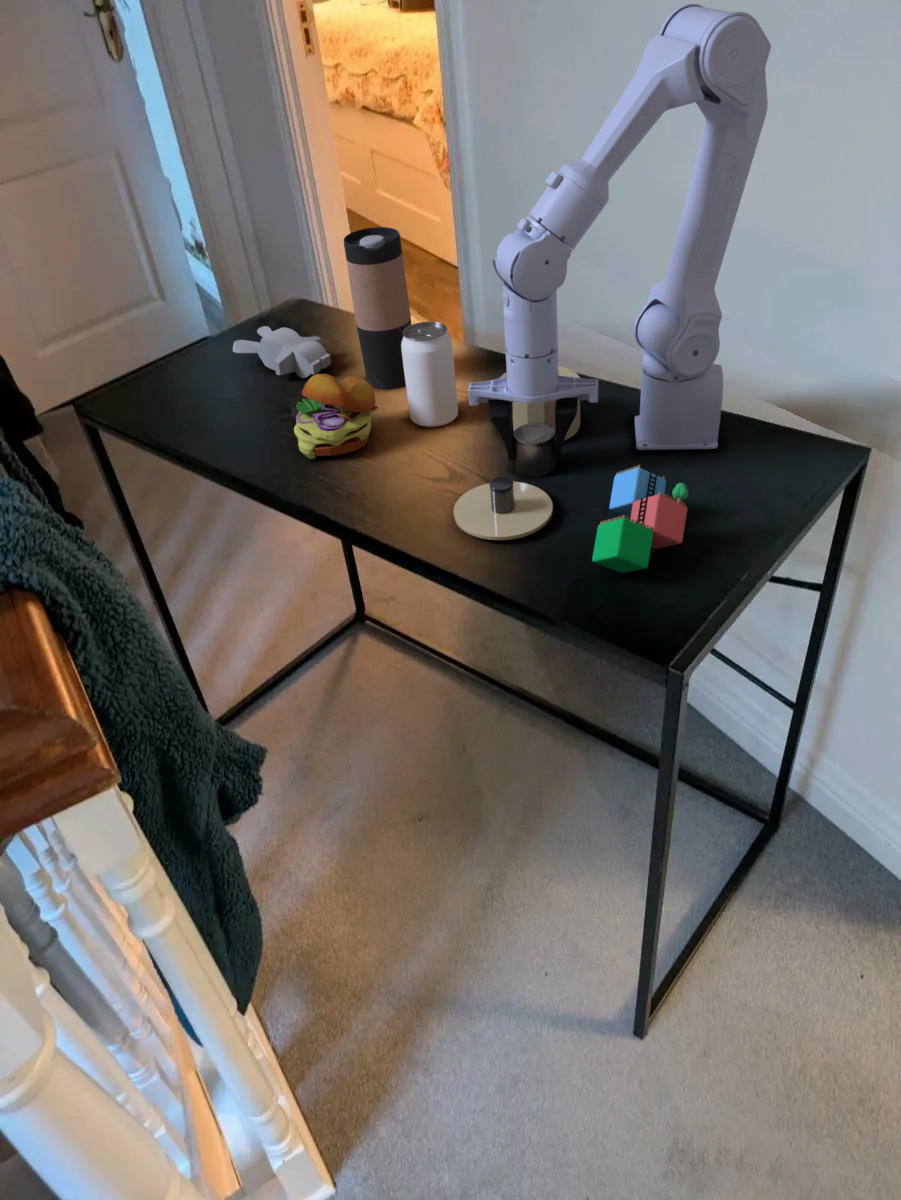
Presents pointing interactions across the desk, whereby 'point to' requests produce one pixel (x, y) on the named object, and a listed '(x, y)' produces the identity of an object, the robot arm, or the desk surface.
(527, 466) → the tin
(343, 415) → the cheeseburger
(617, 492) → the building blocks
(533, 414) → the beige hollow cylinder
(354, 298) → the travel mug
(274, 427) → the desk surface
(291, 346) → the bunny figurine
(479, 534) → the pot lid
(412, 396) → the can
